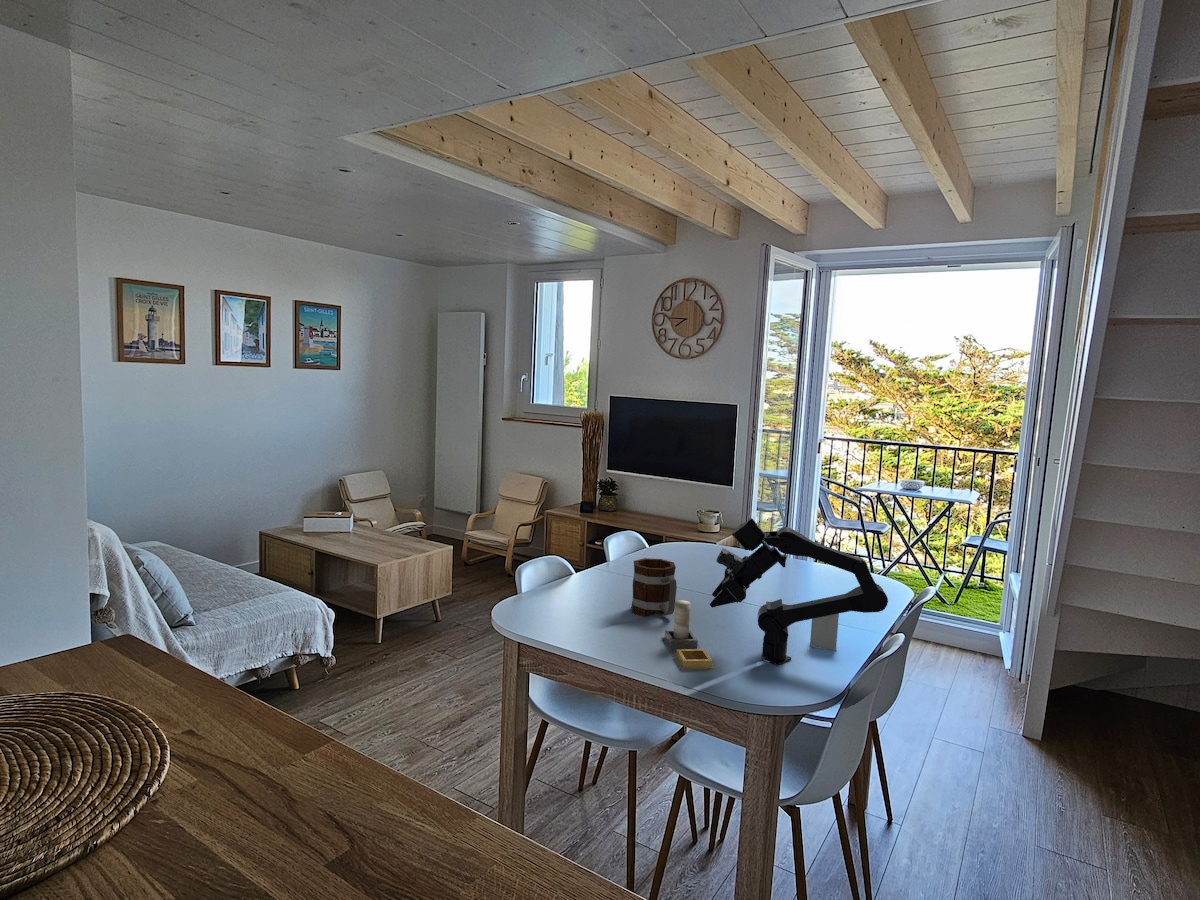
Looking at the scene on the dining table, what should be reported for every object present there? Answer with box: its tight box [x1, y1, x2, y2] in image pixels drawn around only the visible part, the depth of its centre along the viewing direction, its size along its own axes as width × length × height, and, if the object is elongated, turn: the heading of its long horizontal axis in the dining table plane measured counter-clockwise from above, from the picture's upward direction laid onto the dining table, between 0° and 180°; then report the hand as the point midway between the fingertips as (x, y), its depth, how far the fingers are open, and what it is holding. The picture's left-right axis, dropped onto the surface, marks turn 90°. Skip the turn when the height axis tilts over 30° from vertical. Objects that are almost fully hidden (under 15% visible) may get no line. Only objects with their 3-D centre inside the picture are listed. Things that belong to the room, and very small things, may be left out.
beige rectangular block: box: [809, 613, 840, 652], centre depth 191 cm, size 4×7×10 cm, turn 69°
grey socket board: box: [660, 629, 717, 671], centre depth 179 cm, size 21×9×3 cm, turn 8°
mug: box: [630, 557, 678, 618], centre depth 211 cm, size 20×14×15 cm
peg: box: [673, 599, 691, 639], centre depth 185 cm, size 4×4×11 cm
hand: (711, 600), depth 183 cm, fingers open, 9 cm apart
